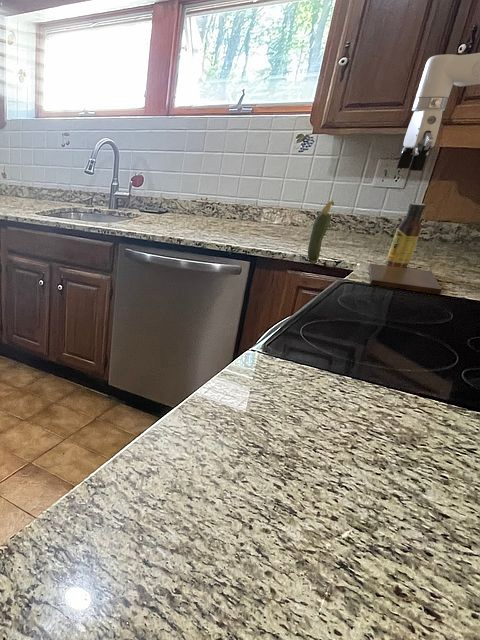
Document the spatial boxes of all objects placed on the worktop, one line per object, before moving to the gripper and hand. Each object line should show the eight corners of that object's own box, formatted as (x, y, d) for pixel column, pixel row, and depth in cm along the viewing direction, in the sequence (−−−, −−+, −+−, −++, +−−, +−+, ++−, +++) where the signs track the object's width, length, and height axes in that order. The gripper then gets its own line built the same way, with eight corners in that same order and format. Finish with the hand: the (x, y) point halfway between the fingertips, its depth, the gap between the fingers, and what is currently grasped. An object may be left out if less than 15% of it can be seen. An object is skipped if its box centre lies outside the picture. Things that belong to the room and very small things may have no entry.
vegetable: (301, 262, 172) (318, 199, 164) (306, 260, 175) (322, 198, 167) (316, 265, 170) (333, 201, 161) (320, 263, 172) (338, 200, 164)
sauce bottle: (384, 262, 175) (404, 201, 167) (406, 265, 172) (428, 203, 164) (385, 266, 170) (406, 203, 162) (408, 269, 167) (431, 205, 159)
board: (429, 275, 161) (431, 271, 160) (440, 294, 142) (442, 289, 141) (368, 267, 168) (369, 263, 167) (370, 284, 149) (371, 279, 149)
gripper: (459, 104, 139) (436, 172, 146) (432, 106, 154) (412, 168, 161) (426, 103, 141) (405, 170, 148) (402, 106, 157) (384, 167, 164)
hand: (408, 169), depth 155 cm, fingers open, 9 cm apart
